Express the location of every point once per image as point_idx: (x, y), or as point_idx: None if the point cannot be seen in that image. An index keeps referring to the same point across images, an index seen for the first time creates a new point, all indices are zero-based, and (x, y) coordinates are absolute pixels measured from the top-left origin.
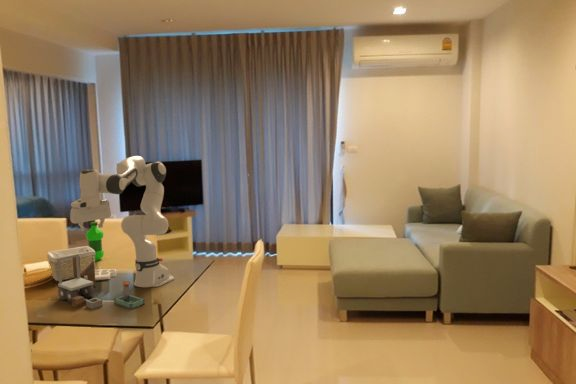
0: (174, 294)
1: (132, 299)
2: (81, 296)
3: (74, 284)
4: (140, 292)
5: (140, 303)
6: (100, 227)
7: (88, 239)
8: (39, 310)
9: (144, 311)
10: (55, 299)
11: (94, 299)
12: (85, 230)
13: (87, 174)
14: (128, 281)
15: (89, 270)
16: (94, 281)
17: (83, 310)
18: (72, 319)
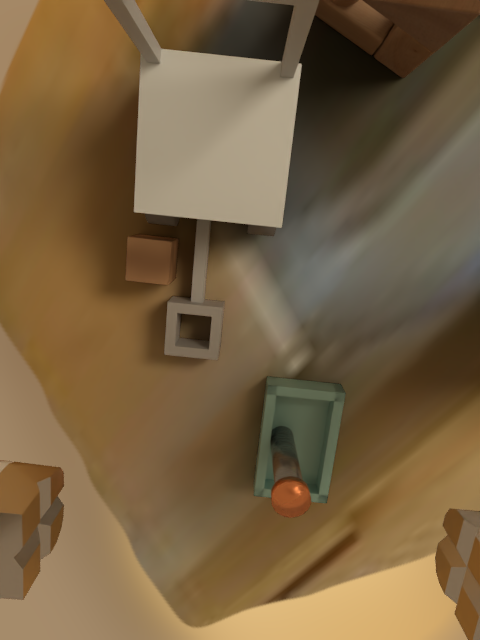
0: None
1: (326, 429)
2: (168, 264)
3: (187, 166)
4: (433, 371)
5: None
6: (443, 576)
7: None
8: (19, 134)
9: (264, 539)
10: None
11: (208, 315)
12: (55, 534)
13: None
14: (309, 500)
15: (418, 19)
16: (411, 67)
17: (138, 322)
18: (52, 364)
